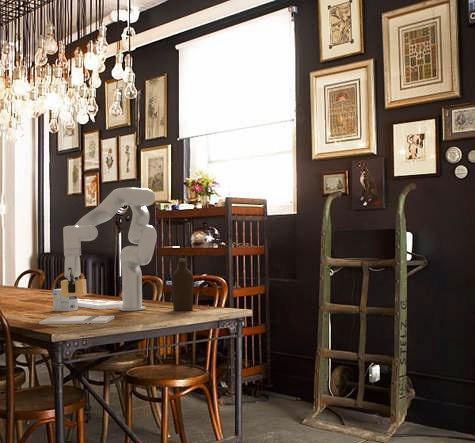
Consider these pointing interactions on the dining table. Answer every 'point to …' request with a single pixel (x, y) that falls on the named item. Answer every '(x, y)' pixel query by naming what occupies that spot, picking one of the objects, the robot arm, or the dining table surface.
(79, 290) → the tan rectangular block
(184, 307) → the olive oil
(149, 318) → the dining table surface
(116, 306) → the holder
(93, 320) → the white flat panel
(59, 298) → the light bulb box
